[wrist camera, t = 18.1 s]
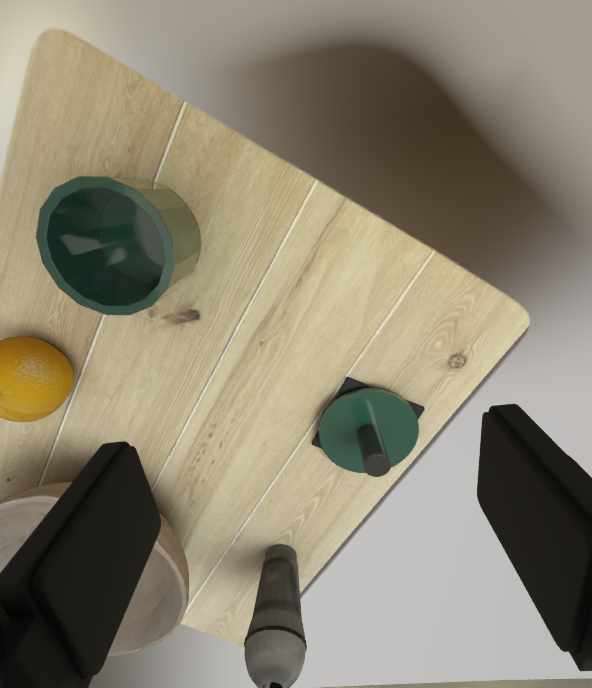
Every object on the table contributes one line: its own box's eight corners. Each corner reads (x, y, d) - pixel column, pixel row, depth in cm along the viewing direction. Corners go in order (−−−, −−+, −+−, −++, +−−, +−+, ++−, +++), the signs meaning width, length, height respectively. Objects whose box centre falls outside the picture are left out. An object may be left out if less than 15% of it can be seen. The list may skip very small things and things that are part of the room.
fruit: (2, 372, 43) (-61, 409, 36) (19, 315, 40) (-45, 342, 33) (75, 405, 45) (30, 448, 37) (97, 352, 42) (53, 387, 34)
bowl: (7, 554, 55) (-53, 628, 45) (27, 413, 45) (-44, 470, 36) (179, 601, 58) (156, 679, 49) (232, 478, 48) (215, 546, 39)
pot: (214, 208, 36) (190, 212, 28) (183, 305, 40) (154, 333, 32) (106, 160, 34) (47, 151, 26) (84, 266, 38) (28, 285, 30)
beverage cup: (295, 578, 55) (290, 772, 37) (249, 565, 54) (221, 756, 36) (313, 546, 53) (319, 737, 34) (265, 531, 52) (244, 720, 33)
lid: (434, 406, 43) (456, 442, 37) (386, 478, 47) (399, 521, 41) (344, 370, 42) (351, 402, 35) (303, 448, 46) (303, 488, 40)
